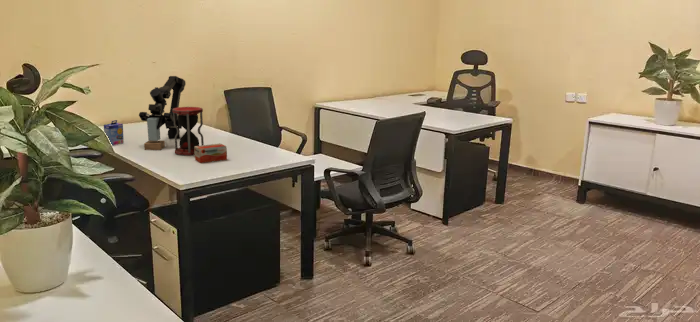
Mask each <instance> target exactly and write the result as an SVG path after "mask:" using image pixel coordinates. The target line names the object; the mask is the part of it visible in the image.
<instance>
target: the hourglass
mask: <svg viewBox="0 0 700 322" xmlns="http://www.w3.org/2000/svg"><path fill="white" fill-rule="evenodd" d="M172 111H173V118H174V126H175V127H176V129H177V134H176V135H175V139H174V154H175V155H178V156H184V157H185V156H187V157H188V156H190V157H191V156H195V152H194V148H195V146H200V143H201V145H205V144H204V135H203V134H202V132H201V128H202V127H203V111H204V109H203V108H202V107H198V106H180V107H178V108H173V109H172ZM175 113H177V114H178V121H179V123H180V125H181V126H182V128H183V129H184V130H185V133H183V134H182V136H180V138H179V143H178V139H177V136H178V135H179V134H180V132H181V129H179V128H178V126H177V125H176V115H175ZM199 116H200V117H199ZM199 119H200V125H199V126H198V127H197V132H198V134H199V136H200V139H201V141H200V139H199V138H198V137H197V135H195V134H194V132H192V130H193V129H194V128H195V127H196V125H197V124H198V123H199ZM178 144H179V147H178Z"/></svg>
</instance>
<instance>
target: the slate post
mask: <svg viewBox="0 0 700 322" xmlns="http://www.w3.org/2000/svg"><path fill="white" fill-rule="evenodd" d="M158 122H159V118H148V119H147V121H146V125H147V137H148V140H147V141H161V127H160V128H159V129H158V130H157V125H158Z"/></svg>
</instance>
